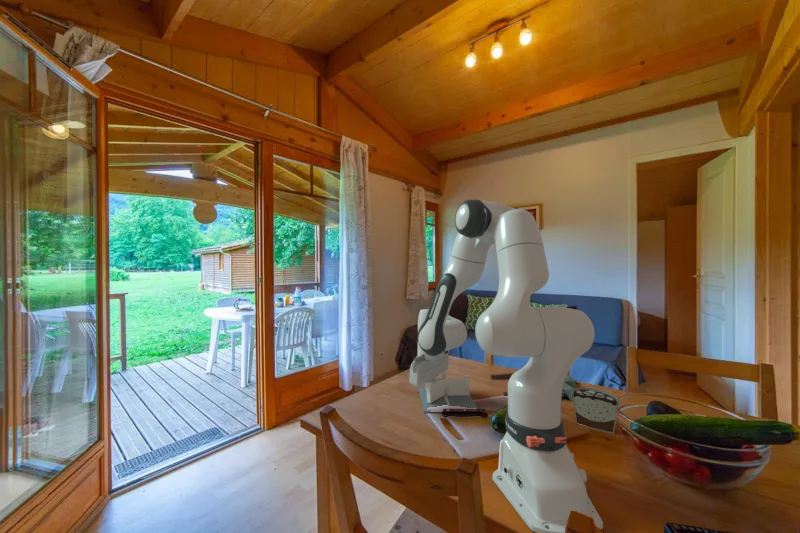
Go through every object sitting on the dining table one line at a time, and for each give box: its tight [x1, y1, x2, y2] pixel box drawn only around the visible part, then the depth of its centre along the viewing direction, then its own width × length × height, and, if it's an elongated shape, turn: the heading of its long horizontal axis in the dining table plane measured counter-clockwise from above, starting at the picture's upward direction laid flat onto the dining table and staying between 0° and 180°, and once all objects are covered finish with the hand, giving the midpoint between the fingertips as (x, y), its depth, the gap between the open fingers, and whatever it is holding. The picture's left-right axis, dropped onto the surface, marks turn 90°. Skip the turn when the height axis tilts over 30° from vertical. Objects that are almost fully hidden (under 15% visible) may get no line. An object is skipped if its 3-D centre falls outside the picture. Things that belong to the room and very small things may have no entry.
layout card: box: [417, 385, 478, 414], centre depth 113 cm, size 20×18×1 cm
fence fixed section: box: [447, 374, 470, 396], centre depth 115 cm, size 8×2×7 cm, turn 92°
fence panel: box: [427, 373, 448, 403], centre depth 111 cm, size 10×2×7 cm, turn 136°
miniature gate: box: [490, 372, 581, 403], centre depth 122 cm, size 27×6×30 cm
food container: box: [571, 386, 621, 435], centre depth 94 cm, size 12×6×10 cm, turn 56°
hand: (429, 390), depth 111 cm, fingers closed
